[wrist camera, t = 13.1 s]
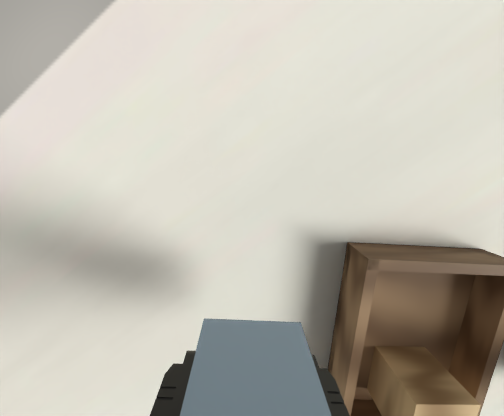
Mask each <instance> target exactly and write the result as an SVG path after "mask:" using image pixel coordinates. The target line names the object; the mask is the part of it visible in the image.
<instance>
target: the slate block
mask: <svg viewBox="0 0 504 416" xmlns="http://www.w3.org/2000/svg"><path fill="white" fill-rule="evenodd" d="M180 416H331V413H330V410H329V407H328V404H327V401H326V398H325V395H324V392H323V389H322V386H321V383H320V380H319V376H318V373H317V370H316V367H315V364H314V361H313V358H312V355H311V352H310V349H309V346H308V343H307V340H306V337H305V334H304V331H303V328H302V325H301V322H277V321H252V320H226V319H204V321H203V325H202V329H201V333H200V337H199V341H198V345H197V349H196V353H195V357H194V361H193V365H192V369H191V373H190V377H189V381H188V385H187V389H186V393H185V397H184V401H183V405H182V409H181V413H180Z"/></svg>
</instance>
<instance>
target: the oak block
mask: <svg viewBox="0 0 504 416" xmlns="http://www.w3.org/2000/svg"><path fill="white" fill-rule="evenodd" d="M367 389H368V391H369V393H370V395H371V397H372V399H373V400H374V402H375V404H376V406H377V408H378V410H379V412H380V413H381V415H382V416H478V412H479V409H480V406H481V404H480V403H479V402H478V401H477V400H476V399H475V398H474V397H473V396H472V395H471V394H470V393H469V392H468V391H467V390H466V389H465V388H464V387H463V386H462V385H461V384H460V383H459V382H458V381H457V380H456V379H455V378H454V377H453V376H452V375H451V374H450V373H449V371H448V370H447V369H446V368H445V367H444V366H443V365H442V364H441V363H440V362H439V361H438V360H437V359H436V358H435V357H434V356H433V355H432V354H431V353H430V352H429V351H428V350H427V349H426V348H425V347H408V346H375V349H374V354H373V359H372V364H371V370H370V375H369V380H368V385H367Z"/></svg>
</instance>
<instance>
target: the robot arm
mask: <svg viewBox="0 0 504 416" xmlns="http://www.w3.org/2000/svg"><path fill="white" fill-rule="evenodd" d="M195 353H196V351H187V352H186V355H185V359H184V362H183V364H173V365H172V366H171V367H170V369H169V370H168V371H167V372H166V373H165V375H164V378H163V381H162V384H161V387H160V389H159V392H158V395H157V398H156V400H155V403H154V406H153V408H152V411H151V414H150V416H180V413H181V409H182V405H183V401H184V397H185V393H186V389H187V385H188V381H189V377H190V373H191V369H192V365H193V361H194V357H195ZM312 358H313V361H314V364H315V367H316V370H317V373H318V376H319V380H320V383H321V386H322V389H323V392H324V395H325V398H326V401H327V404H328V407H329V410H330V413H331V416H350V415H349V413H348V410H347V408H346V405H345V404H344V400H343V398H342V395H341V394H340V390H339V388H338V385H337V383H336V380H335V379H334V377H333V376H332V375H331V374H330V372H329V371H328V370H327V369H320V368H319V366H318V363H317V361H316V358H315V356H314V355H312Z"/></svg>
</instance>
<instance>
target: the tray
mask: <svg viewBox="0 0 504 416" xmlns="http://www.w3.org/2000/svg"><path fill="white" fill-rule="evenodd" d="M503 341H504V257H501V256H499V255H496V254H493V253H491V252H488V251H485V250H483V249H471V248H451V247H431V246H411V245H391V244H371V243H351V242H347V249H346V255H345V262H344V268H343V275H342V281H341V288H340V294H339V300H338V307H337V313H336V320H335V326H334V333H333V339H332V346H331V352H330V358H329V365H328V371H329V372H330V374H331V375H332V376H333V377H334V379H335V380H336V383H337V385H338V388H339V390H340V394H341V395H342V398H343V400H344V404H345V405H346V408H347V410H348V413H349V415H350V416H382V415H381V413H380V412H379V410H378V408H377V406H376V404H375V402H374V400H373V399H372V397H371V395H370V393H369V391H368V389H367V385H368V380H369V375H370V370H371V364H372V359H373V354H374V349H375V346H408V347H425V348H426V349H427V350H428V351H429V352H430V353H431V354H432V355H433V356H434V357H435V358H436V359H437V360H438V361H439V362H440V363H441V364H442V365H443V366H444V367H445V368H446V369H447V370H448V371H449V373H450V374H451V375H452V376H453V377H454V378H455V379H456V380H457V381H458V382H459V383H460V384H461V385H462V386H463V387H464V388H465V389H466V390H467V391H468V392H469V393H470V394H471V395H472V396H473V397H474V398H475V399H476V400H477V401H478V402H479V403H480V404H481V406H480V409H479V412H478V416H479V415H480V412H481V409H482V406H483V403H484V400H485V397H486V394H487V390H488V387H489V384H490V381H491V378H492V375H493V372H494V369H495V366H496V363H497V360H498V357H499V353H500V350H501V347H502V344H503Z"/></svg>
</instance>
